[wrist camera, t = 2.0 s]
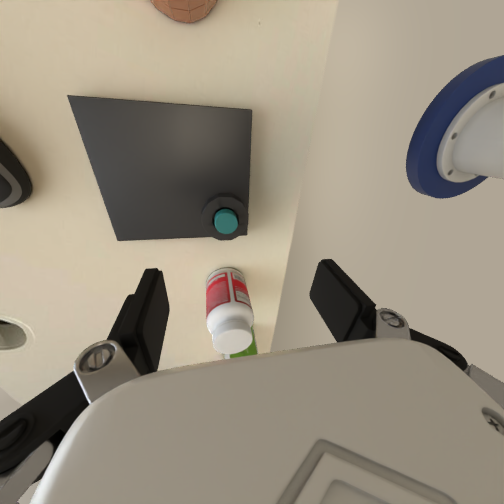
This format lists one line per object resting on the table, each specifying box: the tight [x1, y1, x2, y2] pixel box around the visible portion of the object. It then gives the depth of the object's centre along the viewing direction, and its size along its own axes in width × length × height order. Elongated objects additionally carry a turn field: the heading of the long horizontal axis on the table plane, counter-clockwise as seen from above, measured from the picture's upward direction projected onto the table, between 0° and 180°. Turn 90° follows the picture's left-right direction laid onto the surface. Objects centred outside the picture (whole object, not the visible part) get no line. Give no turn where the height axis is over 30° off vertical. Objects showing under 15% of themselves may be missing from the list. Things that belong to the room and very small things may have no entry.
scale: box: [67, 95, 252, 241], centre depth 22 cm, size 16×14×3 cm
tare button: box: [215, 209, 238, 234], centre depth 23 cm, size 3×3×2 cm
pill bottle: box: [206, 268, 254, 354], centre depth 28 cm, size 6×6×11 cm
